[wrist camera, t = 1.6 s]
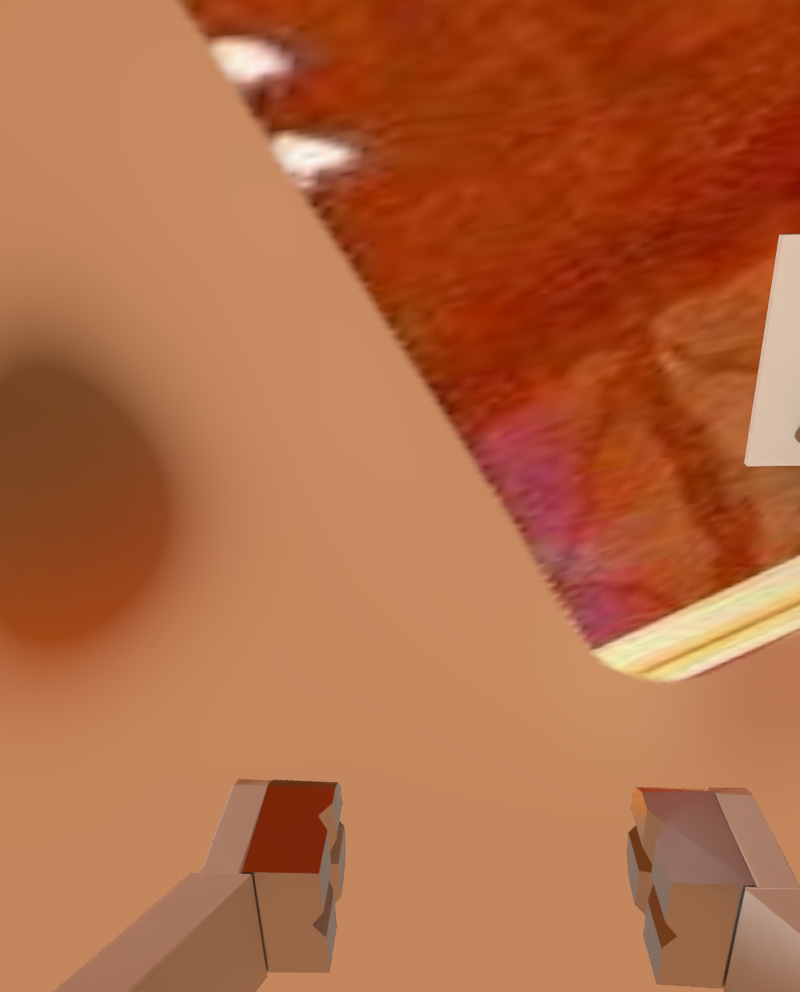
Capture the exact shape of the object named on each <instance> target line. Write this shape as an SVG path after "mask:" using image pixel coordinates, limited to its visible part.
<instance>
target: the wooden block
mask: <svg viewBox="0 0 800 992" xmlns="http://www.w3.org/2000/svg"><path fill="white" fill-rule="evenodd" d="M795 439H796V440H797V441H798V442H799V443H800V427H799V428H798V429H797V431H796V433H795Z"/></svg>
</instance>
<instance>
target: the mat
mask: <svg viewBox="0 0 800 992" xmlns="http://www.w3.org/2000/svg"><path fill="white" fill-rule="evenodd" d="M799 427H800V234H783V235H779V240H778V246H777V253H776V259H775V266H774V272H773V279H772V285H771V292H770V298H769V305H768V311H767V318H766V324H765V331H764V337H763V344H762V350H761V357H760V363H759V370H758V376H757V383H756V389H755V396H754V402H753V409H752V415H751V422H750V428H749V435H748V441H747V448H746V454H745V461H744V464H746V465H747V466H800V443H799V442H798V441H797V440H796V439H795V433H796V431H797V429H798V428H799Z"/></svg>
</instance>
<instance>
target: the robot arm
mask: <svg viewBox="0 0 800 992" xmlns="http://www.w3.org/2000/svg"><path fill="white" fill-rule="evenodd" d="M341 807H342V796H341V788H340V784H339V783H338V782H314V781H293V780H252V779H238V780H237V781H236V783H235V784H234V785H233V786H232V788H231V791H230V794H229V797H228V799H227V802H226V805H225V808H224V810H223V813H222V816H221V818H220V821H219V824H218V827H217V830H216V832H215V835H214V838H213V840H212V843H211V846H210V848H209V851H208V854H207V857H206V860H205V862H204V865H203V868H202V870H201V873H189V874H188V875H187V876H186V877H185V878H183V880H181V881H180V882H179V883H178V884H177V885H175V886H174V887H173V888H172V889H171V890H170V891H169V892H167V893H166V894H165V895H164V896H163V897H162V898H161V899H159V900H158V901H157V902H156V903H155V904H154V905H152V906H151V907H150V908H149V909H148V910H147V911H145V912H144V913H143V914H142V915H141V916H140V917H138V918H137V919H136V920H135V921H134V922H133V923H131V924H130V925H129V926H128V927H127V928H126V929H124V930H123V931H122V932H121V933H120V934H119V935H118V936H116V937H115V938H114V939H113V940H112V941H111V942H110V943H108V944H107V945H106V946H105V947H104V948H102V949H101V950H100V951H99V952H98V953H97V954H96V955H95V956H93V957H92V958H91V959H90V960H89V961H87V962H86V963H85V964H84V965H83V966H82V967H81V968H79V969H78V970H77V971H76V972H75V973H74V974H73V975H71V976H70V977H69V978H68V979H67V980H66V981H64V982H63V983H62V984H61V985H60V986H59V987H58V988H56V989H55V990H54V991H53V992H256V991H257V989H258V988H259V987H260V985H261V984H262V983H263V981H264V980H265V979H266V978H267V972H323V973H325V972H326V973H329V972H330V965H331V960H332V952H333V947H334V940H335V934H336V928H337V923H336V911H335V903H336V901H337V900H338V899H339V898H340V897H341V894H342V887H343V879H344V867H345V829H344V825H343V824H342V823H341V822H340V821H339V820H340V814H341ZM631 810H632V813H633V817H634V820H635V823H636V826H634V827H633V828H632V830H630V831H629V832H628V843H627V860H628V862H627V863H628V874H629V880H630V886H631V890H632V894H633V898H634V902H635V905H636V906H637V907H638V908H639V909H640V910H641V911H642V912H643V913H644V914H645V915H646V918H645V927H644V934H643V936H644V940H645V944H646V947H647V951H648V954H649V958H650V962H651V965H652V969H653V973H654V976H655V980H656V984H661V985H676V986H691V987H706V988H722V989H724V992H800V885H799V883H798V881H797V880H796V877H795V876H794V874H793V872H792V870H791V868H790V867H789V864H788V862H787V860H786V858H785V856H784V854H783V853H782V851H781V849H780V847H779V845H778V843H777V841H776V839H775V837H774V835H773V833H772V832H771V829H770V828H769V826H768V824H767V822H766V820H765V818H764V816H763V814H762V812H761V810H760V808H759V806H758V805H757V803H756V801H755V799H754V797H753V795H752V793H751V792H749V791H748V790H747V789H746V788H708V789H706V788H660V787H659V788H657V787H655V788H654V787H647V788H646V787H636V788H635V791H634V793H633V798H632V805H631Z"/></svg>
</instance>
